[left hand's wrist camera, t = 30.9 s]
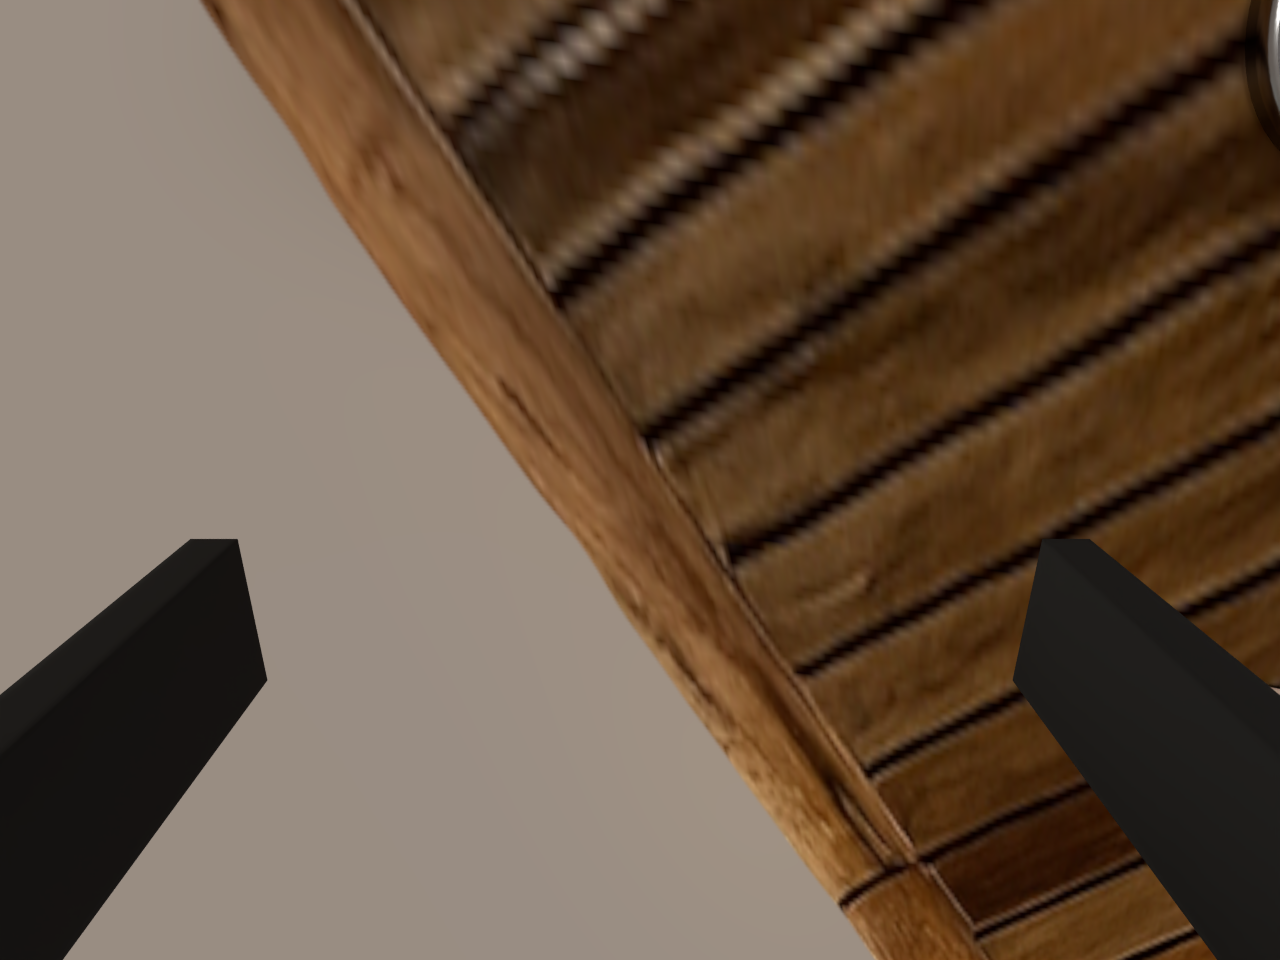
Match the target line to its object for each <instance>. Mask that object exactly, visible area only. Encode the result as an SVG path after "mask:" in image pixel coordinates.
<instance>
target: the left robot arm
mask: <svg viewBox="0 0 1280 960" xmlns="http://www.w3.org/2000/svg"><path fill="white" fill-rule="evenodd" d="M1245 60H1246V73H1247V81H1248V87H1249V91H1250V95H1251V99H1252V103H1253V105H1254V108H1255V111H1256V114H1257V116H1258V118H1259V120H1260V122H1261V124H1262V127H1263V129H1264V130H1265V132H1266V133H1267V135H1268V136H1269V138H1270V139H1271V141H1272V142H1273V144H1274V145H1275V146H1276V147H1277V148H1278V149H1279V151H1280V0H1251V4H1250V9H1249V15H1248V21H1247V28H1246V43H1245ZM266 681H267V676H266V672H265V667H264V662H263V657H262V653H261V648H260V643H259V638H258V634H257V629H256V625H255V619H254V615H253V610H252V605H251V601H250V596H249V591H248V586H247V582H246V577H245V572H244V567H243V563H242V558H241V553H240V549H239V544H238V539H190V540H189V541H188V542H186V543H185V544H184V545H183V546H182V547H180V548H179V549H178V550H177V551H175V552H174V553H173V554H172V555H171V556H169V557H168V558H167V559H166V560H164V561H163V562H162V563H161V564H160V565H158V566H157V567H156V568H155V569H153V570H152V571H151V572H150V573H149V574H147V575H146V576H145V577H144V578H142V579H141V580H140V581H139V582H138V583H136V584H135V585H134V586H133V587H131V588H130V589H129V590H128V591H127V592H125V593H124V594H123V595H122V596H120V597H119V598H118V599H117V600H116V601H114V602H113V603H112V604H111V605H109V606H108V607H107V608H106V609H105V610H103V611H102V612H101V613H100V614H98V615H97V616H96V617H95V618H94V619H92V620H91V621H90V622H89V623H88V624H86V625H85V626H84V627H83V628H81V629H80V630H79V631H78V632H76V633H75V634H74V635H73V636H72V637H70V638H69V639H68V640H67V641H65V642H64V643H63V644H62V645H61V646H59V647H58V648H57V649H56V650H54V651H53V652H52V653H51V654H50V655H48V656H47V657H46V658H45V659H43V660H42V661H41V662H40V663H39V664H37V665H36V666H35V667H34V668H32V669H31V670H30V671H29V672H28V673H26V674H25V675H24V676H23V677H21V678H20V679H19V680H18V681H17V682H15V683H14V684H13V685H12V686H10V687H9V688H8V689H7V690H6V691H4V692H3V693H2V694H1V695H0V960H63V959H64V957H65V956H66V955H67V953H68V952H69V950H70V949H71V948H72V946H73V945H74V944H75V942H76V941H77V939H78V938H79V937H80V935H81V934H82V933H83V931H84V930H85V929H86V927H87V926H88V925H89V923H90V922H91V920H92V919H93V918H94V916H95V915H96V914H97V912H98V911H99V910H100V908H101V907H102V905H103V904H104V903H105V901H106V900H107V899H108V897H109V896H110V894H111V893H112V892H113V890H114V889H115V888H116V886H117V885H118V884H119V882H120V881H121V879H122V878H123V877H124V875H125V874H126V873H127V871H128V870H129V869H130V867H131V866H132V864H133V863H134V862H135V860H136V859H137V858H138V856H139V855H140V854H141V852H142V851H143V849H144V848H145V847H146V845H147V844H148V843H149V841H150V840H151V838H152V837H153V836H154V834H155V833H156V832H157V830H158V829H159V828H160V826H161V825H162V823H163V822H164V821H165V819H166V818H167V817H168V815H169V814H170V812H171V811H172V810H173V808H174V807H175V806H176V804H177V803H178V802H179V800H180V799H181V798H182V796H183V795H184V793H185V792H186V791H187V789H188V788H189V787H190V785H191V784H192V782H193V781H194V780H195V778H196V777H197V776H198V774H199V773H200V772H201V770H202V769H203V767H204V766H205V765H206V763H207V762H208V761H209V759H210V758H211V756H212V755H213V754H214V752H215V751H216V750H217V748H218V747H219V746H220V744H221V743H222V742H223V740H224V739H225V737H226V736H227V735H228V733H229V732H230V731H231V729H232V728H233V726H234V725H235V724H236V722H237V721H238V720H239V718H240V717H241V716H242V714H243V713H244V711H245V710H246V709H247V707H248V706H249V705H250V703H251V702H252V701H253V699H254V698H255V696H256V695H257V694H258V692H259V691H260V690H261V688H262V687H263V686H264V684H265V683H266ZM1013 681H1014V683H1015V684H1016V686H1017V687H1018V688H1019V690H1020V691H1021V692H1022V694H1023V695H1024V696H1025V698H1026V699H1027V701H1028V702H1029V703H1030V705H1031V706H1032V707H1033V709H1034V710H1035V711H1036V713H1037V714H1038V716H1039V717H1040V718H1041V720H1042V721H1043V722H1044V724H1045V725H1046V726H1047V728H1048V729H1049V731H1050V732H1051V733H1052V735H1053V736H1054V737H1055V739H1056V740H1057V742H1058V743H1059V744H1060V746H1061V747H1062V748H1063V750H1064V751H1065V752H1066V754H1067V755H1068V757H1069V758H1070V759H1071V761H1072V762H1073V763H1074V765H1075V766H1076V767H1077V769H1078V770H1079V772H1080V773H1081V774H1082V776H1083V777H1084V778H1085V780H1086V781H1087V782H1088V784H1089V785H1090V787H1091V788H1092V789H1093V791H1094V792H1095V793H1096V795H1097V796H1098V798H1099V799H1100V800H1101V802H1102V803H1103V804H1104V806H1105V807H1106V808H1107V810H1108V811H1109V813H1110V814H1111V815H1112V817H1113V818H1114V819H1115V821H1116V822H1117V823H1118V825H1119V826H1120V828H1121V829H1122V830H1123V832H1124V833H1125V834H1126V836H1127V837H1128V838H1129V840H1130V841H1131V843H1132V844H1133V845H1134V847H1135V848H1136V849H1137V851H1138V852H1139V854H1140V855H1141V856H1142V858H1143V859H1144V860H1145V862H1146V863H1147V864H1148V866H1149V867H1150V869H1151V870H1152V871H1153V873H1154V874H1155V875H1156V877H1157V878H1158V879H1159V881H1160V882H1161V884H1162V885H1163V886H1164V888H1165V889H1166V890H1167V892H1168V893H1169V895H1170V896H1171V897H1172V899H1173V900H1174V901H1175V903H1176V904H1177V905H1178V907H1179V908H1180V910H1181V911H1182V912H1183V914H1184V915H1185V916H1186V918H1187V919H1188V920H1189V922H1190V923H1191V925H1192V926H1193V927H1194V929H1195V930H1196V931H1197V933H1198V934H1199V935H1200V937H1201V938H1202V940H1203V941H1204V942H1205V944H1206V945H1207V946H1208V948H1209V949H1210V951H1211V952H1212V953H1213V955H1214V956H1215V957H1216V959H1217V960H1280V695H1279V694H1278V693H1277V692H1276V691H1274V690H1273V689H1272V688H1271V687H1270V686H1268V685H1267V684H1266V683H1265V682H1263V681H1262V680H1261V679H1260V678H1259V677H1257V676H1256V675H1255V674H1254V673H1252V672H1251V671H1250V670H1249V669H1248V668H1246V667H1245V666H1244V665H1243V664H1241V663H1240V662H1239V661H1238V660H1237V659H1235V658H1234V657H1233V656H1232V655H1230V654H1229V653H1228V652H1227V651H1226V650H1224V649H1223V648H1222V647H1221V646H1219V645H1218V644H1217V643H1216V642H1215V641H1213V640H1212V639H1211V638H1210V637H1208V636H1207V635H1206V634H1205V633H1204V632H1202V631H1201V630H1200V629H1199V628H1197V627H1196V626H1195V625H1194V624H1193V623H1191V622H1190V621H1189V620H1188V619H1186V618H1185V617H1184V616H1183V615H1182V614H1180V613H1179V612H1178V611H1177V610H1175V609H1174V608H1173V607H1172V606H1171V605H1169V604H1168V603H1167V602H1166V601H1164V600H1163V599H1162V598H1161V597H1160V596H1158V595H1157V594H1156V593H1155V592H1153V591H1152V590H1151V589H1150V588H1149V587H1147V586H1146V585H1145V584H1144V583H1142V582H1141V581H1140V580H1139V579H1138V578H1136V577H1135V576H1134V575H1133V574H1131V573H1130V572H1129V571H1128V570H1127V569H1125V568H1124V567H1123V566H1122V565H1120V564H1119V563H1118V562H1117V561H1116V560H1114V559H1113V558H1112V557H1111V556H1109V555H1108V554H1107V553H1106V552H1105V551H1103V550H1102V549H1101V548H1100V547H1098V546H1097V545H1096V544H1095V543H1094V542H1092V541H1091V540H1090V539H1042V544H1041V549H1040V553H1039V558H1038V563H1037V567H1036V572H1035V577H1034V582H1033V586H1032V591H1031V596H1030V601H1029V605H1028V610H1027V615H1026V619H1025V624H1024V629H1023V634H1022V638H1021V643H1020V648H1019V653H1018V657H1017V662H1016V667H1015V671H1014V676H1013Z"/></svg>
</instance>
